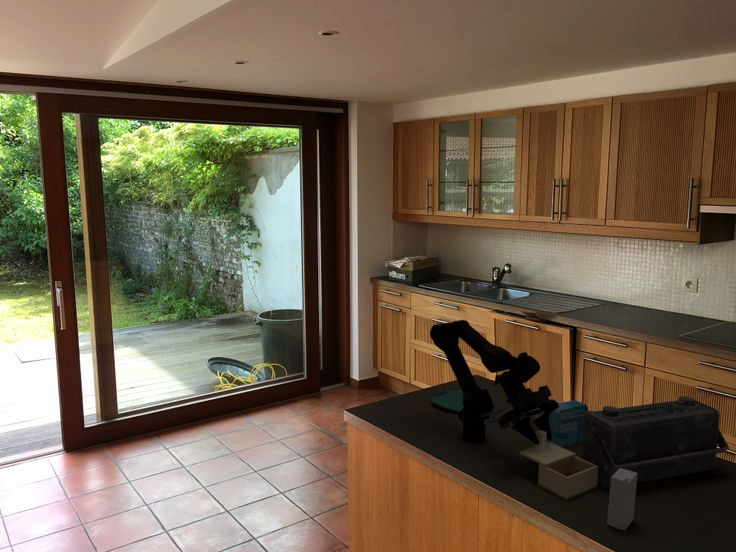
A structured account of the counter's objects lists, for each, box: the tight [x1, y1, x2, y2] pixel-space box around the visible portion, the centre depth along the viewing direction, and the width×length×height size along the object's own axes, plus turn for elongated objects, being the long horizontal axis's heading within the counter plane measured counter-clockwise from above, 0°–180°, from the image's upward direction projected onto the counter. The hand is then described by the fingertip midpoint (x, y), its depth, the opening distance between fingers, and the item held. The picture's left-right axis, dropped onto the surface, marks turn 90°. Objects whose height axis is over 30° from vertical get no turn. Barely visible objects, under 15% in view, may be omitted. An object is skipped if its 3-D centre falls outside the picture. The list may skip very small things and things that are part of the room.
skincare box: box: [606, 468, 638, 531], centre depth 141 cm, size 6×4×12 cm
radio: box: [581, 395, 730, 490], centre depth 165 cm, size 38×14×20 cm, turn 108°
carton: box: [537, 455, 598, 501], centre depth 159 cm, size 9×12×6 cm
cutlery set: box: [431, 389, 514, 426], centre depth 214 cm, size 20×30×2 cm, turn 44°
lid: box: [519, 429, 577, 466], centre depth 164 cm, size 9×12×6 cm
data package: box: [546, 399, 589, 448], centre depth 186 cm, size 12×4×12 cm, turn 116°
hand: (544, 442), depth 165 cm, fingers open, 5 cm apart
